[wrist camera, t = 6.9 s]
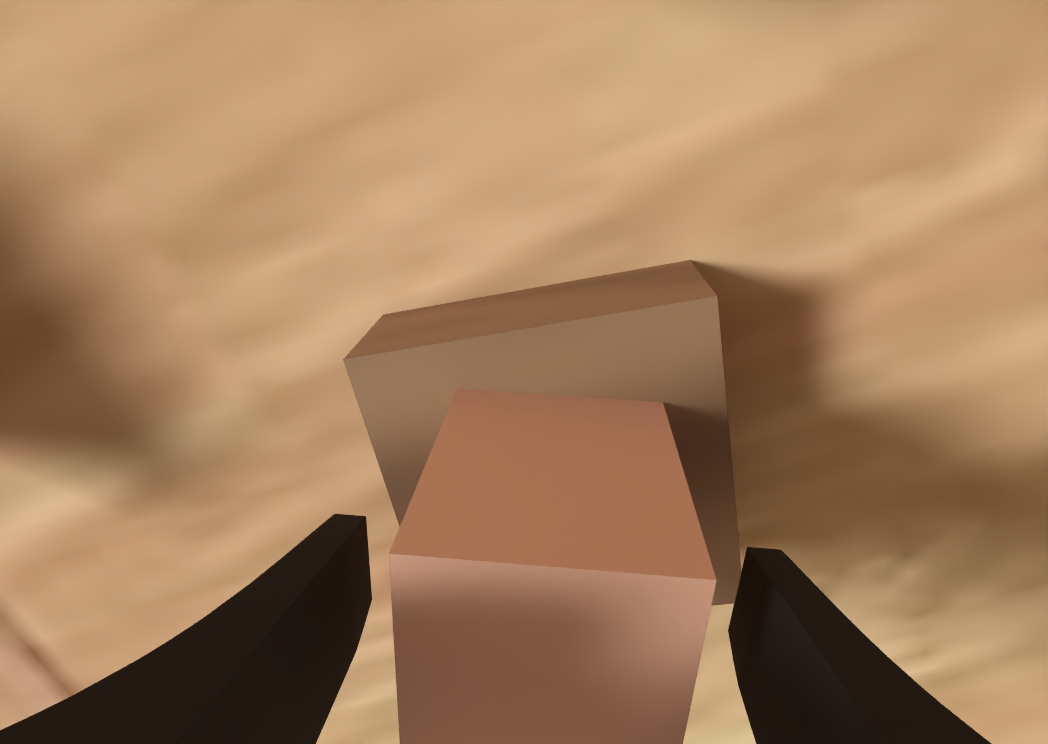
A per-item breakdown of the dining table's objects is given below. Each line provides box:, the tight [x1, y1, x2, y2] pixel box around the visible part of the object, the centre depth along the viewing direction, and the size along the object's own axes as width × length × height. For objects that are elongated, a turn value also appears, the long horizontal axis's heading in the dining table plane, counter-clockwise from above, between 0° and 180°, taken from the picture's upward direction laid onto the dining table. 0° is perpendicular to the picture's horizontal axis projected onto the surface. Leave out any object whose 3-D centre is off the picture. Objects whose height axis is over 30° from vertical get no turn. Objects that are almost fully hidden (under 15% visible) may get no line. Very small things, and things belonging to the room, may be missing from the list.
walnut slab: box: [343, 260, 741, 606], centre depth 16 cm, size 8×8×4 cm
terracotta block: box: [389, 389, 716, 744], centre depth 12 cm, size 4×4×6 cm
